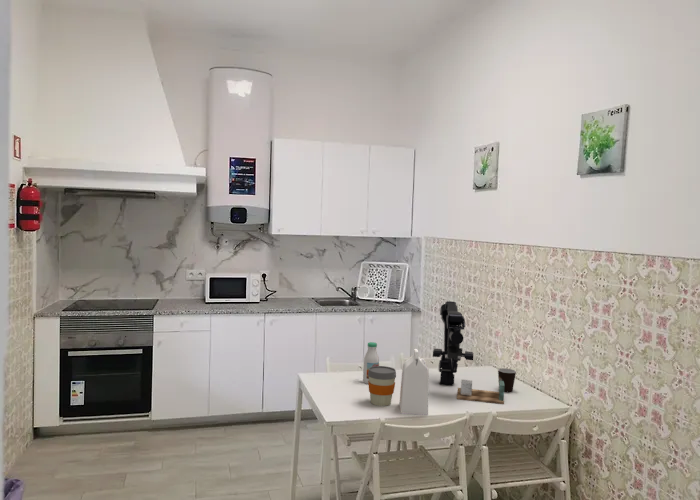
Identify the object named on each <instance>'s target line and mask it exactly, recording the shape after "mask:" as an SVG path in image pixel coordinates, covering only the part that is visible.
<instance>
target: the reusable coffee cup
mask: <svg viewBox="0 0 700 500" xmlns="http://www.w3.org/2000/svg"><path fill="white" fill-rule="evenodd" d="M368 376H369V381H368V384H367V385H368V392H369V395H370V396H369V397H370V403H371V405H373V406H378V407H387V406H390V405H391V404H392V398H393V394H394V393H395V392H394V391H395V387H396V382H395V381H396V378H397V370H396V369H395V368H394V367H390V366H385V365H379V366H374V367H370V368H369V371H368Z"/></svg>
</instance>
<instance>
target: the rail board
mask: <svg viewBox="0 0 700 500" xmlns="http://www.w3.org/2000/svg"><path fill="white" fill-rule="evenodd" d="M504 387H505V385H504V381H499V380H498V391H494V390H493V391H492V390H485V389H475V388H472V396H467V395H461V387H457V393H456V400H462V401H470V402H477V403H478V402H479V403H487V404H488V403H489V404H498V405H504V403H505V401H504V400H505V392H504Z"/></svg>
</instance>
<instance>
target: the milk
mask: <svg viewBox="0 0 700 500" xmlns="http://www.w3.org/2000/svg"><path fill="white" fill-rule="evenodd" d="M401 369H402V371H401V382H400V391H399V392H400V393H399V401H398V402H399V410H400V414H404V415H405V414H406V415H422V416H423V415H424V416H425V415H426V416H428V415H429V387H430V386H429V385H430V381H429V379H430V378H429V377H430V375H429V368H428V365H427V361H426V360H425V359H424V358H423V357H420V356H419V349H418V348H414V349H413V354H412V355H411V356H410V357H408V359H406V360H405V361H404V362H403V363H402V368H401Z"/></svg>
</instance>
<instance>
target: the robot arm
mask: <svg viewBox="0 0 700 500" xmlns="http://www.w3.org/2000/svg"><path fill="white" fill-rule="evenodd" d="M458 310H459V309H458V305H457V302H456V301H450V300H449V301H448V300H447V301H445V303H444V304H442V305H440V308H439V316H440V318H441V321H442V322H443V323H442V324H443V325H444V328H443V331H444V332H443V349H442V348H434V349H433V351H432V357H435V358H440V360H439V363H438V372H439V373H440V379H439V385H442V386H443V385H444V386H454V384H455V374H457V372H458V365H459V364H458V362H459V361H460V362H461V360H462V358H464V359H465V360H467V361H474V352H473V351H466V350H465V351H464V352H463V348H461V344H462V343H463V341H464V335H463V333H462V331H461V330H465V328H466V321H465V320H466V319H465V317H464V316H463V313H462V312H460V311H458Z"/></svg>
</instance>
